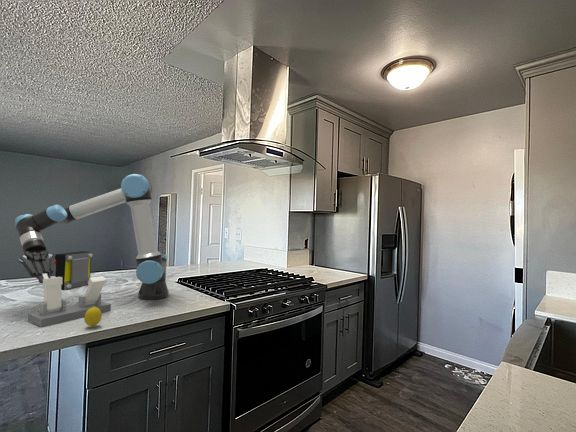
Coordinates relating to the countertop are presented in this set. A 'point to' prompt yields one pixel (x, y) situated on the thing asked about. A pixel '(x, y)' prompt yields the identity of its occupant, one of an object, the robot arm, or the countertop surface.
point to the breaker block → (65, 312)
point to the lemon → (93, 316)
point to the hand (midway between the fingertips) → (47, 288)
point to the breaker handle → (94, 289)
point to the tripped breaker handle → (52, 293)
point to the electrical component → (73, 268)
